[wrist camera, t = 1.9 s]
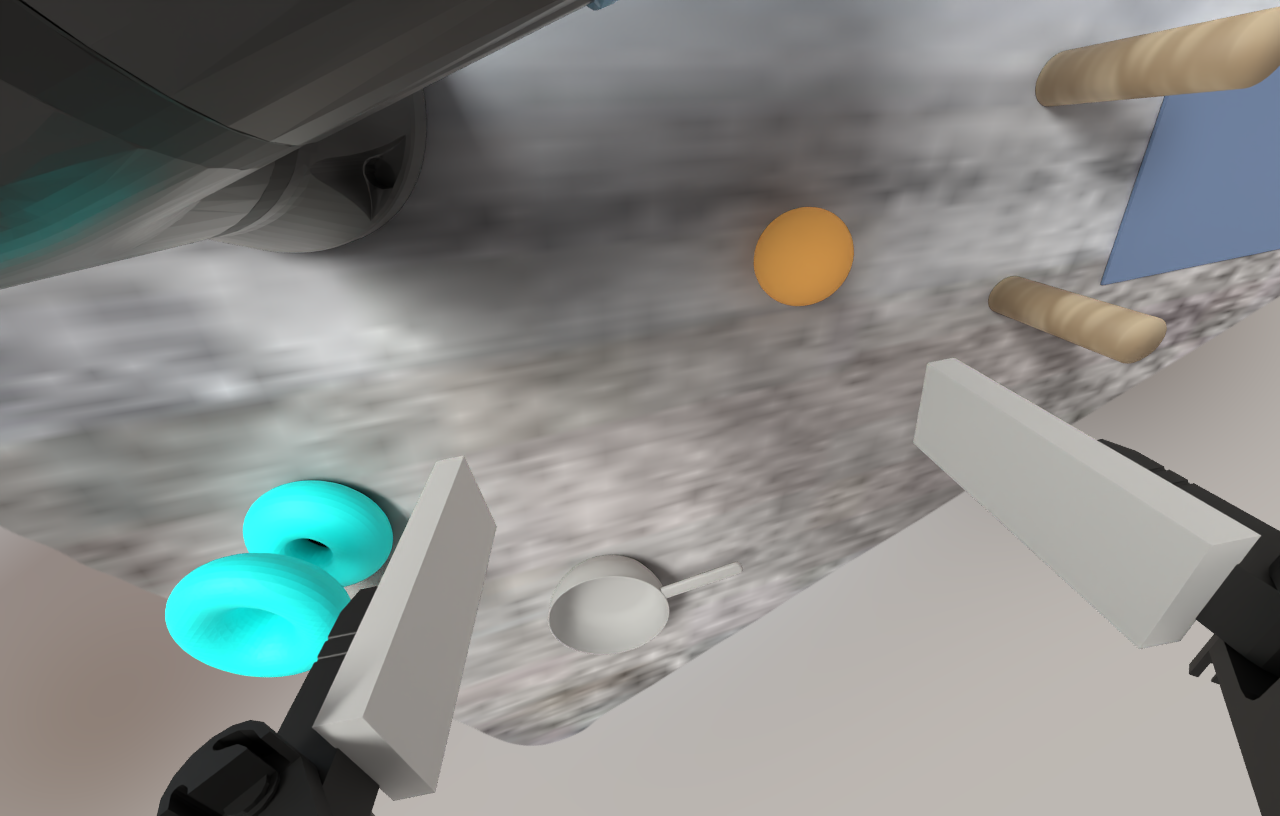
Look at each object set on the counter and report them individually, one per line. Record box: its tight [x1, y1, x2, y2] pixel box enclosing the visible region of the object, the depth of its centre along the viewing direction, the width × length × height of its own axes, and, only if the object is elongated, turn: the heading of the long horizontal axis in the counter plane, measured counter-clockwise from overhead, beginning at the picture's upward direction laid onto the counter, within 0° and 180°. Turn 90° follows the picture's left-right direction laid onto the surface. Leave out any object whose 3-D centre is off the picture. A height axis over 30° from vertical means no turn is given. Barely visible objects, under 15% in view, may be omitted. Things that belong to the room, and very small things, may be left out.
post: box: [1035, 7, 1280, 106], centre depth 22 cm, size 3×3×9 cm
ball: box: [754, 207, 854, 306], centre depth 27 cm, size 6×6×6 cm
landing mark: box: [1101, 66, 1280, 285], centre depth 29 cm, size 14×14×1 cm
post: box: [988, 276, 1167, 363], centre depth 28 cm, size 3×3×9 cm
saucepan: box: [548, 555, 743, 655], centre depth 41 cm, size 11×18×4 cm, turn 116°
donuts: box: [165, 480, 393, 677], centre depth 32 cm, size 10×10×10 cm
